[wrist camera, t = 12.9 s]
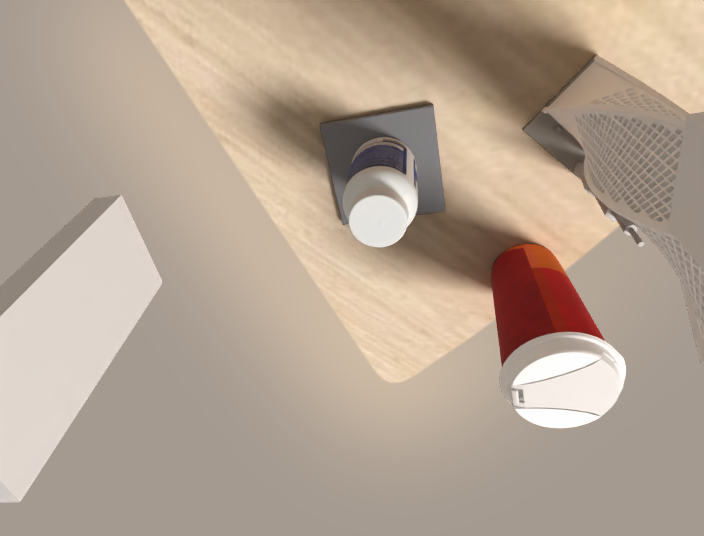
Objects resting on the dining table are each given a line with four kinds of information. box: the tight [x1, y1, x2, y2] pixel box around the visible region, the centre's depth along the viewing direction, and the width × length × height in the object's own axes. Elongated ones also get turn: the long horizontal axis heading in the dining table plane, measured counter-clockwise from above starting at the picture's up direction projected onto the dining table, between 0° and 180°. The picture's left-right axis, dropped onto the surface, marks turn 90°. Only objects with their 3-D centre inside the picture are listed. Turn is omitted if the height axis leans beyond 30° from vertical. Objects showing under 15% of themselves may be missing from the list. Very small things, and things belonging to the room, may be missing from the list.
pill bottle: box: [343, 137, 418, 247], centre depth 39 cm, size 5×5×10 cm
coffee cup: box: [491, 244, 626, 428], centre depth 42 cm, size 8×8×15 cm
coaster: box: [320, 104, 445, 225], centre depth 43 cm, size 9×9×1 cm
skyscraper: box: [523, 55, 704, 365], centre depth 28 cm, size 8×8×28 cm
